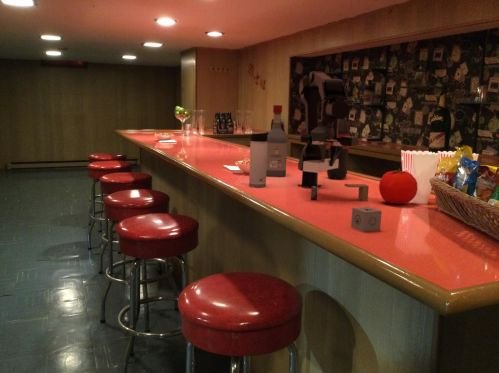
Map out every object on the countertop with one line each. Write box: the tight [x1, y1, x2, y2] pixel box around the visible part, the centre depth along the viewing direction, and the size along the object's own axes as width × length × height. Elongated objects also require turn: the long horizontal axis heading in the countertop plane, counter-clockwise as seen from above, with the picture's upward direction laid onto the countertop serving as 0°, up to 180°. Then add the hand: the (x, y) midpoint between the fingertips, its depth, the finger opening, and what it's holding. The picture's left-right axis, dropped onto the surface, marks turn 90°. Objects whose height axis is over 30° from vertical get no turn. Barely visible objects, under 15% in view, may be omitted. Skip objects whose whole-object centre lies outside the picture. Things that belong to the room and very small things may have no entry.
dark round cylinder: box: [310, 186, 319, 201], centre depth 149 cm, size 2×2×4 cm
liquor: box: [266, 104, 288, 178], centre depth 198 cm, size 9×9×30 cm
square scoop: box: [302, 157, 339, 174], centre depth 151 cm, size 16×6×3 cm, turn 143°
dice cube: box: [350, 206, 382, 233], centre depth 114 cm, size 5×5×5 cm
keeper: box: [344, 183, 370, 202], centre depth 151 cm, size 7×4×5 cm, turn 98°
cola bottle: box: [326, 118, 351, 181], centre depth 195 cm, size 8×8×30 cm
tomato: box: [378, 168, 418, 205], centre depth 146 cm, size 12×12×11 cm
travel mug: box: [248, 131, 270, 188], centre depth 170 cm, size 6×7×20 cm
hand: (326, 165), depth 153 cm, fingers closed on square scoop, 3 cm apart
